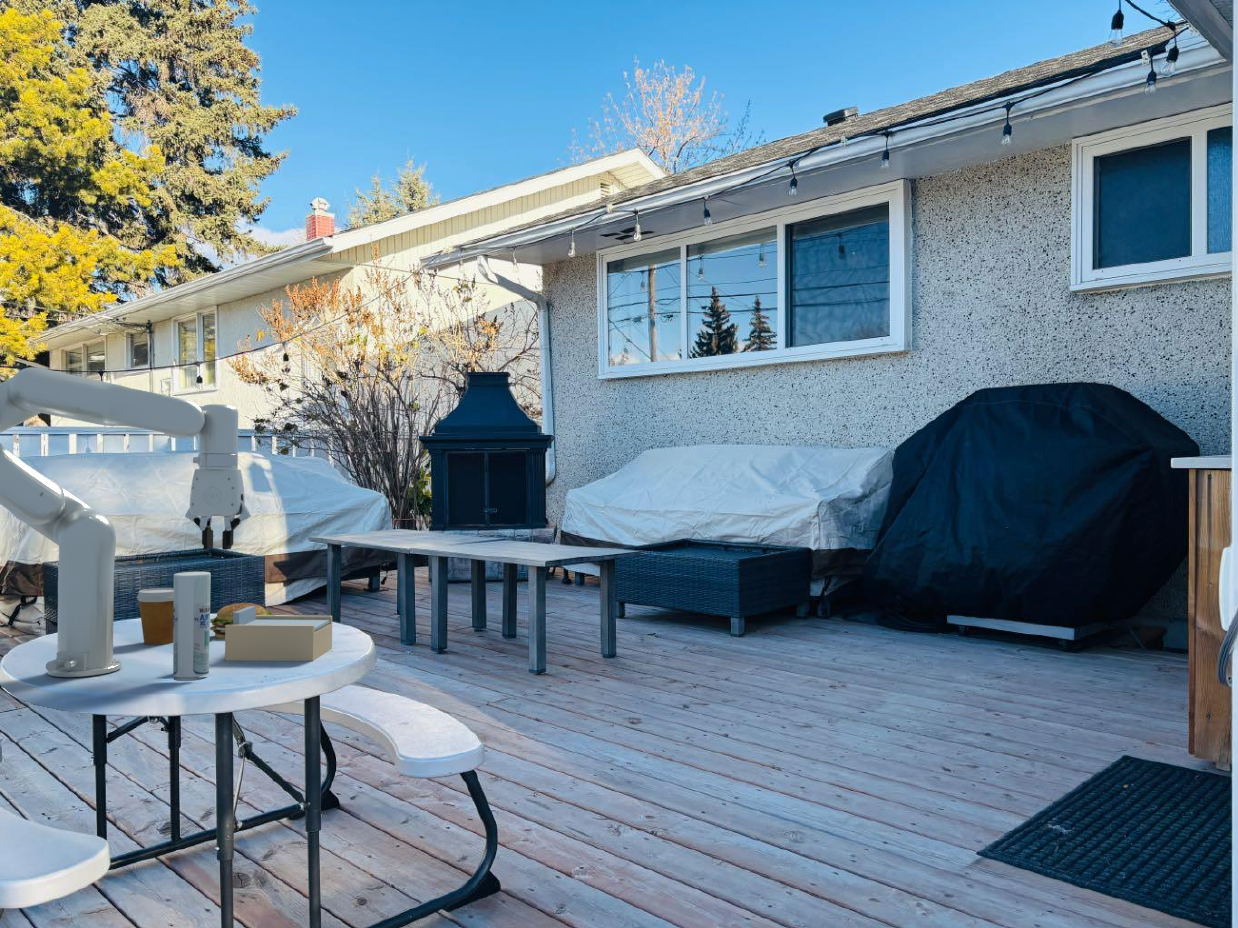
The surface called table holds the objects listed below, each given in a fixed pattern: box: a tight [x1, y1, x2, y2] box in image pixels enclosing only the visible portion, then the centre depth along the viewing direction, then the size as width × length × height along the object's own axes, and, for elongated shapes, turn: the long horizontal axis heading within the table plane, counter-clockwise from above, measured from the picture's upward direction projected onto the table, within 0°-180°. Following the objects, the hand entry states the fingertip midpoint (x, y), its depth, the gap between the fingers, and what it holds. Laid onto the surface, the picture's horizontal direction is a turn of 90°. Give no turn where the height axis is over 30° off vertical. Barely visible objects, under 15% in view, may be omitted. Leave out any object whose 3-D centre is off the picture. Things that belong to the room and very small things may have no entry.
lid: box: [233, 606, 330, 630], centre depth 194 cm, size 11×18×4 cm, turn 91°
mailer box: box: [224, 614, 333, 662], centre depth 194 cm, size 13×18×8 cm
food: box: [210, 602, 275, 640], centre depth 219 cm, size 14×14×8 cm
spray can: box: [172, 571, 212, 682], centre depth 176 cm, size 6×6×20 cm
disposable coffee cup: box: [136, 587, 174, 646], centre depth 210 cm, size 10×10×12 cm
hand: (217, 548), depth 194 cm, fingers open, 3 cm apart
